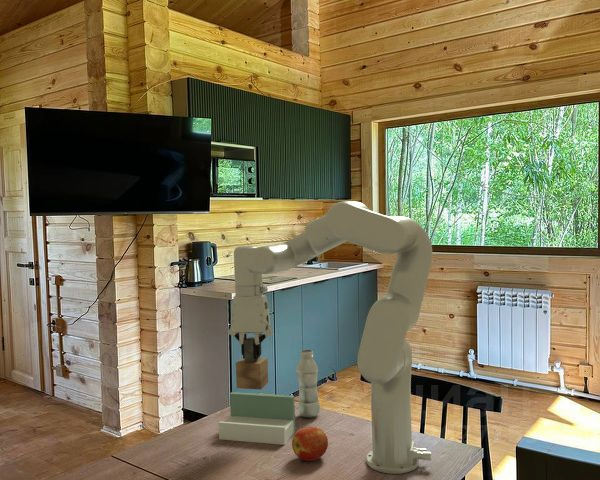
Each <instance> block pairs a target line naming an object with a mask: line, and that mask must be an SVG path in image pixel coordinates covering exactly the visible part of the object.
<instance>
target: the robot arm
mask: <svg viewBox="0 0 600 480" xmlns="http://www.w3.org/2000/svg"><path fill="white" fill-rule="evenodd" d="M347 242H349V243H351V244H353V245H357V246H358V247H359V246H360V247H362V248H365V249H368V250H369V251H373V252H375V253H379V254H383V255H393V254H396V260H395V262H394V265H393V268H392V271H391V274H390V279H389V283H388V286H387V290H386V293H385V294H384V296H383V297H381V298H379V299H377V300H376V301H375V302H374V303H373V304H372V306H371V307H370V309H369V311H368V314H367V317H366V320H365V325H364V328H363V333H362V337H361V340H360V344H359V347H358V353H357V367H358V370H359V373H360V375H361V376H362V377H363V379H365V380H366V381H368V382H369V383H371V384H370V398H371V399H370V404H371V405H370V407H371V408H370V409H371V410H370V411H371V440H372V441H371V445H372V448H371V449H372V450H371V451H369V452H368V453H367V454H366V459H365V460H366V464H367V465H368V467H370V468H371V469H373V470H374V471H376V472H380V473H382V474H383V473H384V474H388V475H389V474H393V475H394V474H395V475H398V474H399V475H400V474H407V473H410V472H413V471H414V470H416V469H417V468H418V466H419V464H420V460H423V461H431V462H432V452H431V451H427V448H425V447H424V448H423V447H422V448H421V447H420V448H419V447H417V446H415V441H414V440H413V439H412V438H413V437H412V435H413V434H412V408H411V407H412V404H411V402H412V392H411V390H412V389H411V386H412V385H411V384H412V383H411V382H412V381H411V380H412V379H411V378H412V367H413V353H412V347H411V345H410V343H409V341H408V340H407V339H406V337H407V334H408V332H409V331H410V330H411V329H413V328H414V327H415V325H416V324H417V323H418V321H419V318H420V312H421V308H422V304H423V301H424V296H425V293H426V288H427V283H428V279H429V275H430V271H431V267H432V262H433V246H432V241H431V239H430V236H429V234H428V233H427V231H426V230H425V228H423V226H422V225H421V224H420V223H418V222H417V220H416V221H415V220H414V219H412V218H410V217H408V216H405V215H394V216H388V215H384V214H382V213H378V212H376V211H372V210H370V208H369V207H368V206H367V205H365V204H364V203H362V202H360V201H355V200H354V201H353V200H351V201H350V200H343V201H338V202H336V203H334V204H333V205H331V206H330V207H329V209H328V210H327V212H326V214H323V215H321V216H320V217H317V218H316V219H314V220H312V221H309V222H307V224H306V225H305V227H304V231H303V232H302V233H301V234H299V235H297V236H295V237H293V238H290V239H289V240H286V241H285V242H282V243H278V244H277V243H275V244H269V245H264V246H258V245H257V246H256V245H244V246H243V245H242V246H236V247H235V248H234V251H233V264H234V265H233V266H234V267H233V268H234V269H233V270H234V271H233V272H234V291H235V292H234V293H235V295H234V296H233V298H232V303H231V310H230V311H231V313H230V316H231V317H230V327H229V330H228V335H230V336H232V337H234V338H235V339H236V340H237V341H238V342H239V344H240V346H241V347H240V348H241V350H240V351H241V355H242V358H243V359H245V354H244V340H245V339H247V338H248V334H253V335H254V336H253V337H255V344H254V359H258V358H261V355H262V343H263V341H264V340H265V339H267V338H269V337H271V336H272V335H273V334H274V331H273V329H272V327H271V315H270V309H269V308H270V307H269V302H268V298H267V294H266V295H265V294H264V293H266V292H268V287H267V286H265V285H264V284H263V275H273V274H276V273H279V272H280V273H281V272H285V271H289V270H291V269H294V268H295V267H298V266H300V265H303V264H304V263H306V262H308V261H311V260H312V259H314V258H316V257H318V256H321V255H322V254H324V253H326V252H327V251H329V250H332V249H335V248H336V247H338V246H340V245H342V244H345V243H347Z"/></svg>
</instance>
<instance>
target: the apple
mask: <svg viewBox="0 0 600 480" xmlns="http://www.w3.org/2000/svg"><path fill="white" fill-rule="evenodd" d="M328 445H329V440H328V436H327V434H326V433H325V431H323V430H322V429H320V428H318V427H316V426H305V427H302V428H301V429H299V430H297V431H296V433H294V434H293V438H292V440H291V447H292V451H293V453H294V454H295V456H296V457H297V458H299V459H300V460H303V461H306V462H312V461H313V462H314V461H317V460H318V459H320V458H321V457H322V456H323V455H325V453H326V451H327V450H328Z"/></svg>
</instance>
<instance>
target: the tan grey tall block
mask: <svg viewBox="0 0 600 480" xmlns="http://www.w3.org/2000/svg"><path fill="white" fill-rule="evenodd" d="M254 344H255V336H249V337H248V336H247V339H245V340H244V354H245V359H243V357H242V358H241V359H239V360H237V361H236V362H235V379H236V380H235V381H236V389H244V390H260V391H261V390H262V389H263V388H265V386H267V385H268V384H269V369H268V368H269V366H268V363H269V362H268V357H259V358H258V359H254Z"/></svg>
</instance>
